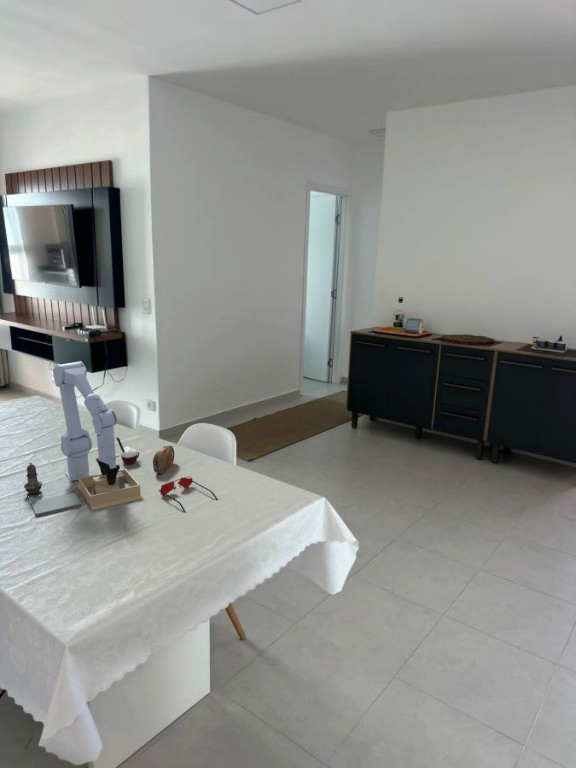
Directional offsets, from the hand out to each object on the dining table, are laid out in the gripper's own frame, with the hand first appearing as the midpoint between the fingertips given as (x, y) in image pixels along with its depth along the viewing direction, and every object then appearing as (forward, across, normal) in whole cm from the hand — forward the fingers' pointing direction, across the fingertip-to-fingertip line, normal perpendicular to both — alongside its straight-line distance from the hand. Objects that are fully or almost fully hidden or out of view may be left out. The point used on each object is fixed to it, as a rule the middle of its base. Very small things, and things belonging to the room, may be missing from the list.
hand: (108, 480), depth 188 cm
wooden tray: (+4, 0, 0) cm, 5 cm away
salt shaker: (+5, +12, +23) cm, 26 cm away
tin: (+5, +10, -24) cm, 26 cm away
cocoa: (+5, +23, -14) cm, 27 cm away
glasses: (+5, -19, -22) cm, 29 cm away
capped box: (+4, 0, 0) cm, 5 cm away
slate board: (+4, -1, +18) cm, 19 cm away
